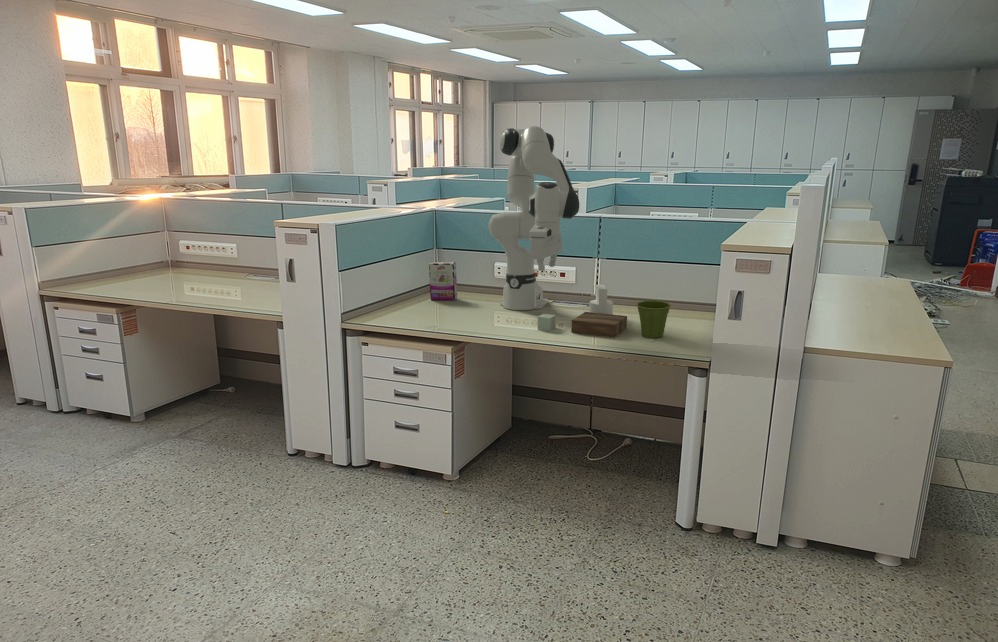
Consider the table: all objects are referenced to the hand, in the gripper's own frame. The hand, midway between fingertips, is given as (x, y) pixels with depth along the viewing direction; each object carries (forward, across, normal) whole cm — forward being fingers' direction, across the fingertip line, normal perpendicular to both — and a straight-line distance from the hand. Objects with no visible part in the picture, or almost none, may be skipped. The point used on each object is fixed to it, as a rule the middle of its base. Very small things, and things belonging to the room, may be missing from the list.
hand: (547, 268), depth 238 cm
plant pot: (+22, -7, +37) cm, 44 cm away
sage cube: (+22, 0, 0) cm, 22 cm away
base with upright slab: (+22, -25, +12) cm, 36 cm away
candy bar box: (+22, -27, -61) cm, 70 cm away
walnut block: (+23, -6, +18) cm, 30 cm away
